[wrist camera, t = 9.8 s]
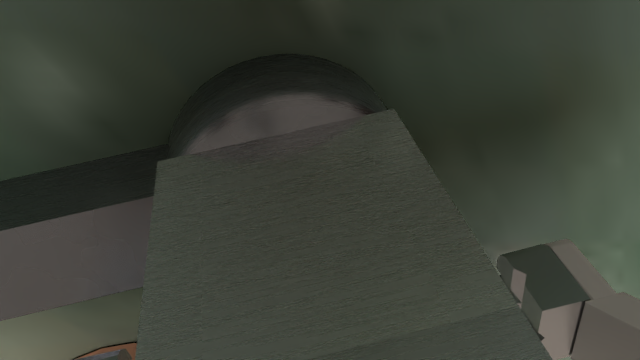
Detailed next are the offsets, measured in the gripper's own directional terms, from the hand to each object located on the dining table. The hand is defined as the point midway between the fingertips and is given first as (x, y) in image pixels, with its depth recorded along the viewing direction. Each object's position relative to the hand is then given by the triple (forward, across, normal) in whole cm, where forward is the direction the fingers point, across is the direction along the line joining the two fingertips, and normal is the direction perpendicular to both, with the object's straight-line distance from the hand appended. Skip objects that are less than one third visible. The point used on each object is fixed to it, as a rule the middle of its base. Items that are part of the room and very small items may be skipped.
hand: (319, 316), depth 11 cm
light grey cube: (+3, 0, 0) cm, 3 cm away
